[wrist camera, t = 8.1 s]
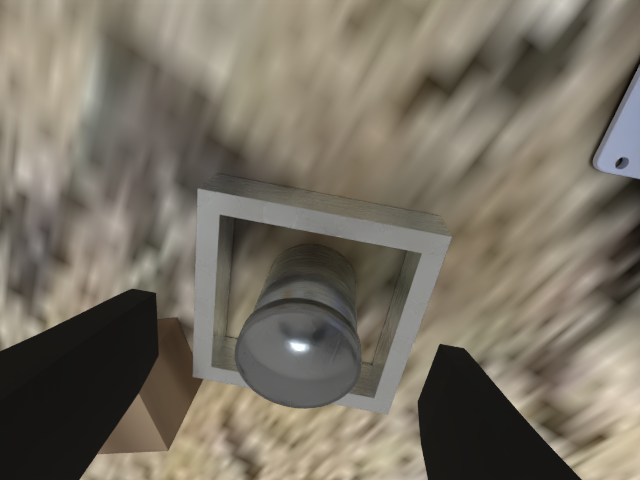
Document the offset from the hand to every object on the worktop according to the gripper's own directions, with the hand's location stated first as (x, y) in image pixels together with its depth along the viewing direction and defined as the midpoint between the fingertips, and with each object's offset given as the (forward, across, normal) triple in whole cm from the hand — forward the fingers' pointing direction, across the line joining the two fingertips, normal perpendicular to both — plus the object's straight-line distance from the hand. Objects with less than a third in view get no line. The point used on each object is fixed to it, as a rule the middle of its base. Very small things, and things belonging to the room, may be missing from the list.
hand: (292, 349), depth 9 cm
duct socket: (+10, 0, +4) cm, 11 cm away
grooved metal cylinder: (+10, 0, +4) cm, 11 cm away
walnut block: (+10, +9, +11) cm, 18 cm away
